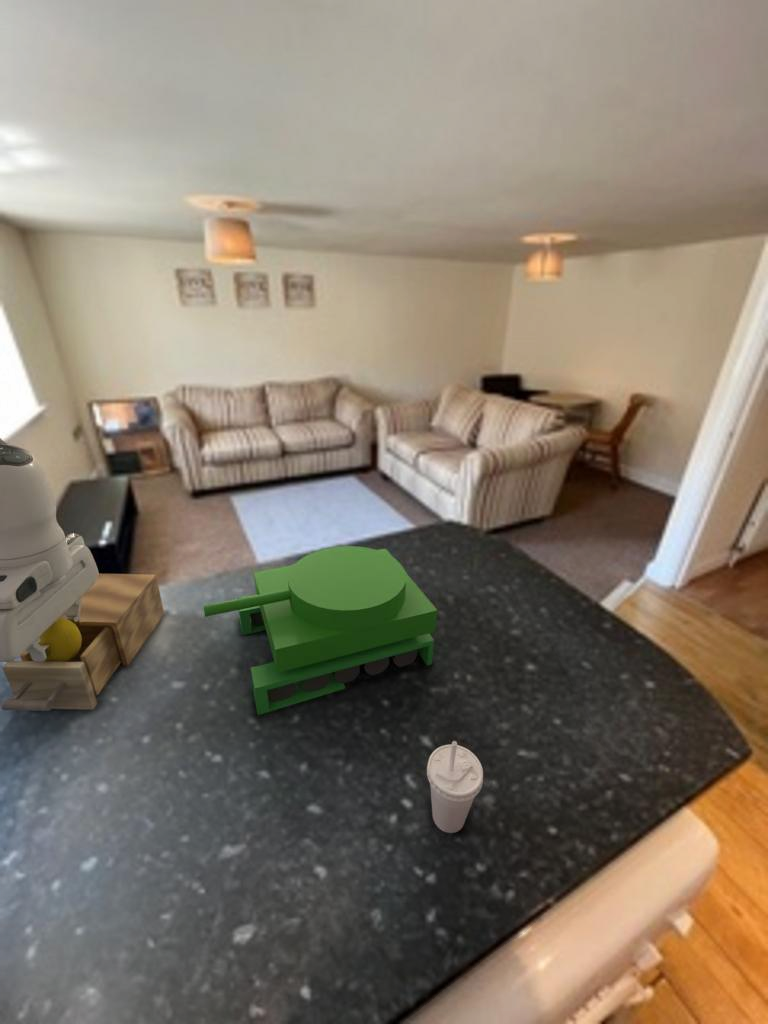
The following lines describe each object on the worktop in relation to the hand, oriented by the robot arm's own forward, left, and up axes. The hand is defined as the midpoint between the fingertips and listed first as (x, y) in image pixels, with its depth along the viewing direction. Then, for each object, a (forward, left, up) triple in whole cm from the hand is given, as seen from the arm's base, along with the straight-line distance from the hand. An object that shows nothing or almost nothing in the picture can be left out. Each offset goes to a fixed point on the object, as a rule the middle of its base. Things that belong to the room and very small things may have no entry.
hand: (59, 640), depth 67 cm
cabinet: (0, +11, -10) cm, 15 cm away
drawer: (0, 0, -9) cm, 9 cm away
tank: (+37, +10, -10) cm, 40 cm away
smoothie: (+57, -20, -10) cm, 61 cm away
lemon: (0, 0, -4) cm, 4 cm away
